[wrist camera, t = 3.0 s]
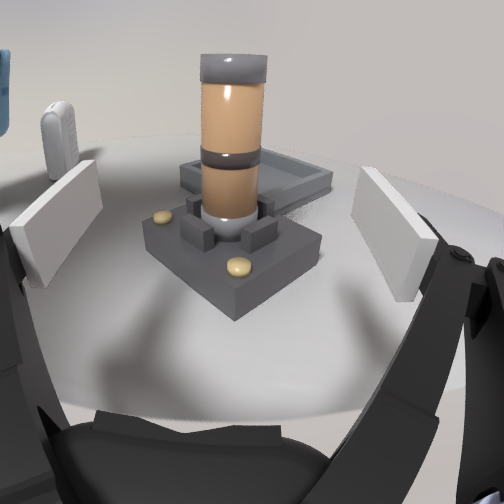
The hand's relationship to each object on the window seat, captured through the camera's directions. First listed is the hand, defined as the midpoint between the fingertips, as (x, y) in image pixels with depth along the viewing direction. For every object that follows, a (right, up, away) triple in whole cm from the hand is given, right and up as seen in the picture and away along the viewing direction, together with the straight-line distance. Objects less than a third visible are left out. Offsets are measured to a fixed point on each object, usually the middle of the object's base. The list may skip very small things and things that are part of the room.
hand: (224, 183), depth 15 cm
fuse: (-1, -1, +12) cm, 12 cm away
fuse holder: (-1, -4, +14) cm, 14 cm away
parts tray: (+2, +5, +27) cm, 27 cm away
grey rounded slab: (-31, +11, +32) cm, 46 cm away
